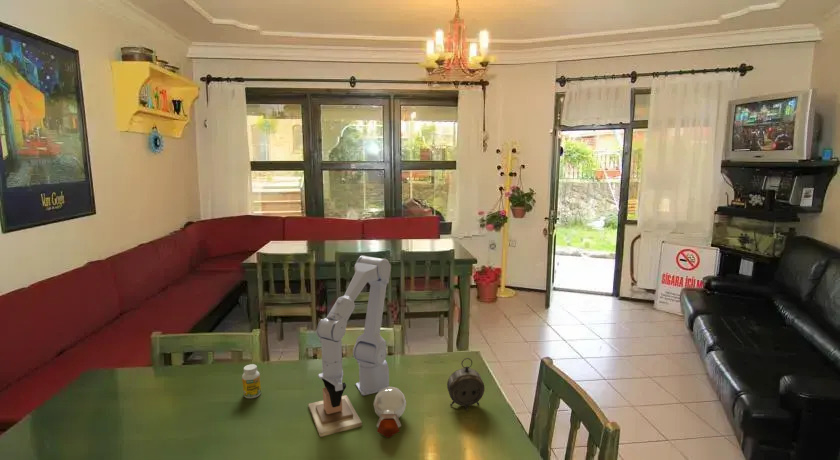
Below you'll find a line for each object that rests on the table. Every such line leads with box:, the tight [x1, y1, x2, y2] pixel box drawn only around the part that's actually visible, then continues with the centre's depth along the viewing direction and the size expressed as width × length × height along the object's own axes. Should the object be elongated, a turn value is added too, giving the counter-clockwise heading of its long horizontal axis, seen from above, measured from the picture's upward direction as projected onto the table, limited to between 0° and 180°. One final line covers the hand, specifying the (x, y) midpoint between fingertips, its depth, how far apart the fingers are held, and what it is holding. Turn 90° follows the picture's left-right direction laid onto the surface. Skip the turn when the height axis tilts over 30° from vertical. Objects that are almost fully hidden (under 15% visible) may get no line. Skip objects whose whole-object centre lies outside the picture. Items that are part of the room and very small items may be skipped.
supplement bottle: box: [241, 363, 262, 399], centre depth 149 cm, size 5×5×10 cm
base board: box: [308, 394, 363, 438], centre depth 138 cm, size 12×16×2 cm
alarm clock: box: [446, 357, 485, 412], centre depth 141 cm, size 11×5×16 cm, turn 96°
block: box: [322, 387, 342, 414], centre depth 137 cm, size 4×4×6 cm
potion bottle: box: [373, 385, 407, 439], centre depth 134 cm, size 9×10×15 cm
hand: (333, 401), depth 137 cm, fingers open, 5 cm apart
